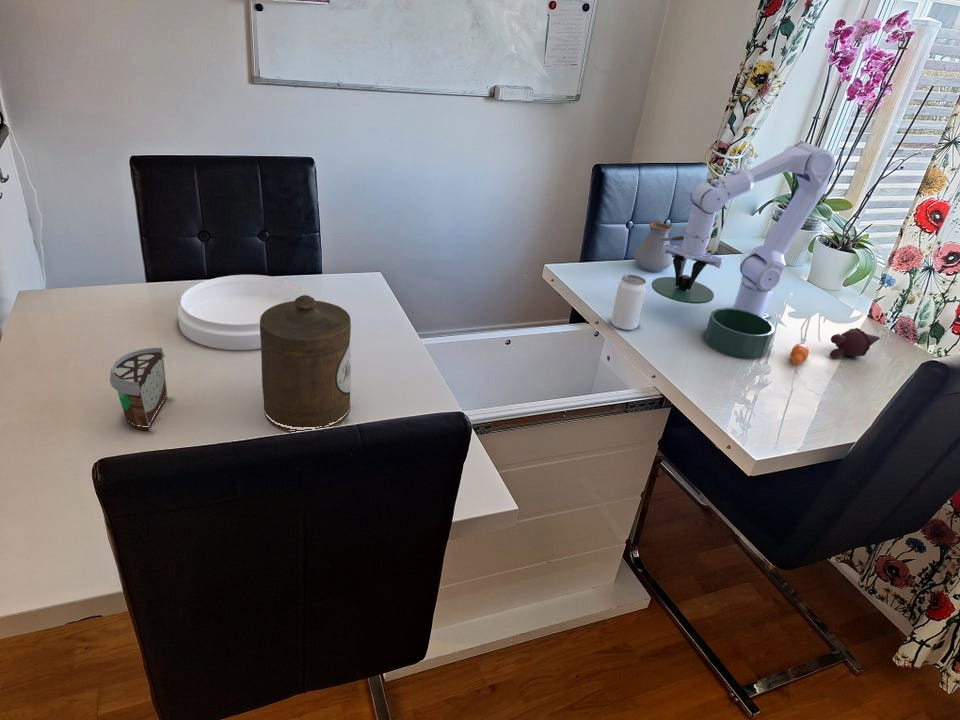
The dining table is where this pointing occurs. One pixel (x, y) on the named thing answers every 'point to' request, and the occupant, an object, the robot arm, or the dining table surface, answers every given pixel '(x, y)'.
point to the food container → (140, 386)
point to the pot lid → (682, 290)
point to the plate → (232, 309)
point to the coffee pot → (655, 249)
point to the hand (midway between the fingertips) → (683, 286)
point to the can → (628, 302)
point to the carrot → (799, 353)
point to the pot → (739, 333)
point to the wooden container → (305, 363)
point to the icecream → (852, 343)
